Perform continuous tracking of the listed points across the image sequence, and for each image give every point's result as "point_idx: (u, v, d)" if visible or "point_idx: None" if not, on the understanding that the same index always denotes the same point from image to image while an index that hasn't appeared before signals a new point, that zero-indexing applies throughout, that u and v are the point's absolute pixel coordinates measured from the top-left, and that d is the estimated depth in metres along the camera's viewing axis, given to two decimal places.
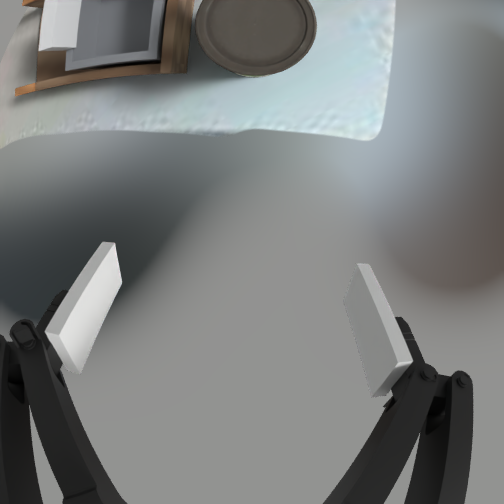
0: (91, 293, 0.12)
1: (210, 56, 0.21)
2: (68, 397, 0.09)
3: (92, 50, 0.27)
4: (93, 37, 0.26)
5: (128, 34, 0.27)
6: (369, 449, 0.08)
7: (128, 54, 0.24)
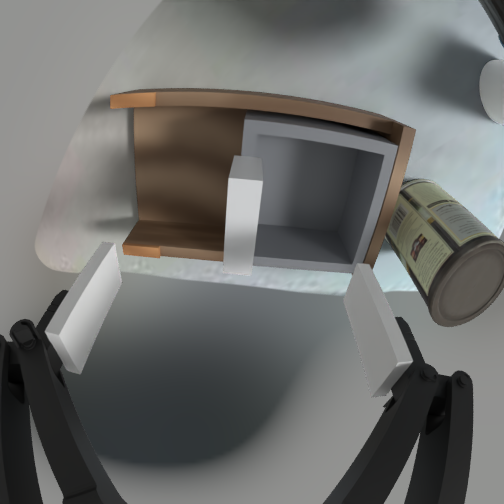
0: (91, 293, 0.12)
1: (433, 317, 0.23)
2: (68, 397, 0.09)
3: None
4: None
5: (297, 198, 0.29)
6: (369, 449, 0.08)
7: (328, 264, 0.26)
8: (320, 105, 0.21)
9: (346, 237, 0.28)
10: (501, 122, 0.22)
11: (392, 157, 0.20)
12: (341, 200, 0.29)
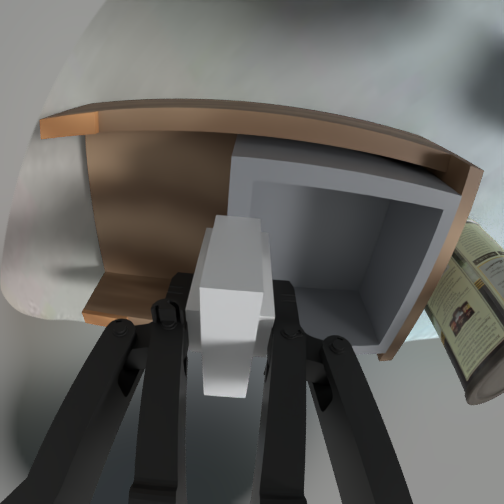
0: None
1: (469, 401, 0.15)
2: (185, 387, 0.10)
3: None
4: None
5: (309, 252, 0.22)
6: (262, 427, 0.08)
7: None
8: (353, 128, 0.13)
9: (371, 304, 0.21)
10: None
11: (452, 212, 0.13)
12: (366, 253, 0.22)
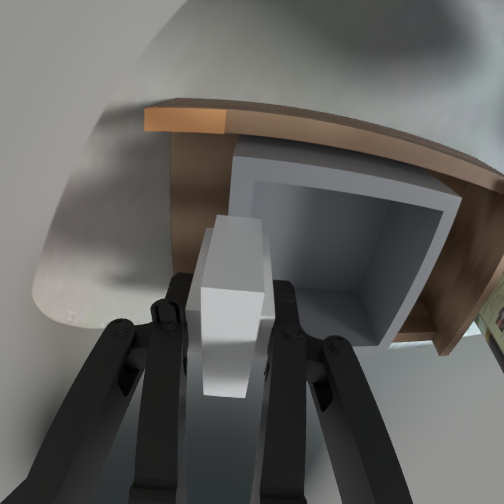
0: None
1: None
2: (185, 387, 0.10)
3: None
4: None
5: (308, 253, 0.22)
6: (263, 427, 0.08)
7: None
8: (453, 158, 0.14)
9: (371, 305, 0.21)
10: None
11: (453, 214, 0.13)
12: (366, 254, 0.22)
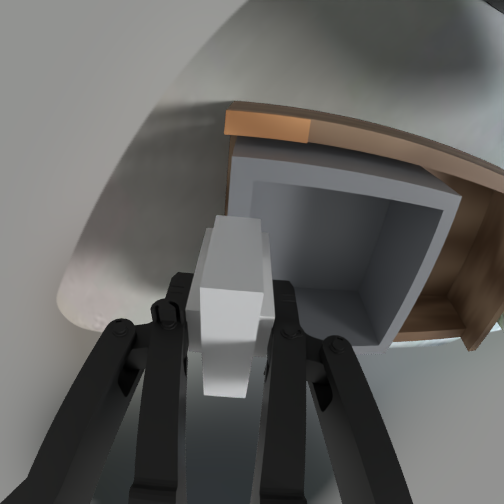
0: None
1: None
2: (185, 387, 0.10)
3: None
4: None
5: (309, 252, 0.22)
6: (262, 427, 0.08)
7: None
8: (492, 172, 0.14)
9: (371, 304, 0.21)
10: None
11: (452, 213, 0.13)
12: (366, 253, 0.22)
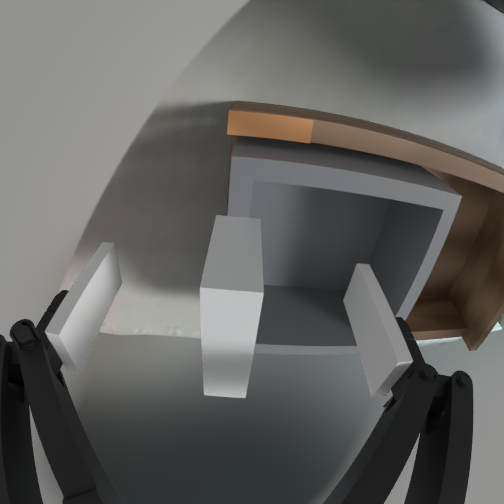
0: (91, 293, 0.12)
1: None
2: (68, 397, 0.09)
3: None
4: None
5: (309, 252, 0.22)
6: (369, 449, 0.08)
7: (348, 348, 0.19)
8: (493, 172, 0.14)
9: None
10: None
11: (452, 212, 0.13)
12: (366, 253, 0.22)
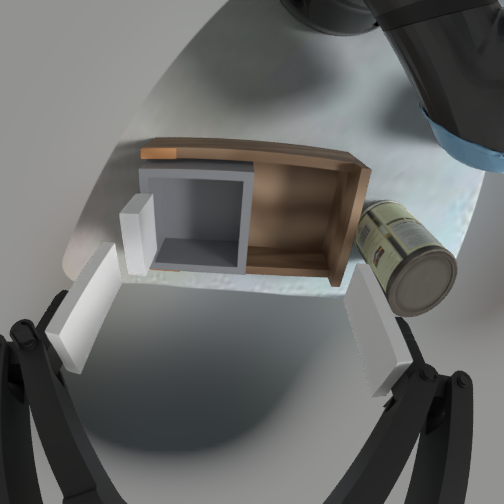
0: (91, 293, 0.12)
1: (391, 309, 0.32)
2: (68, 397, 0.09)
3: (163, 230, 0.38)
4: (161, 217, 0.37)
5: (200, 217, 0.38)
6: (369, 449, 0.08)
7: (217, 267, 0.35)
8: (299, 155, 0.30)
9: None
10: None
11: (251, 182, 0.29)
12: (235, 216, 0.38)
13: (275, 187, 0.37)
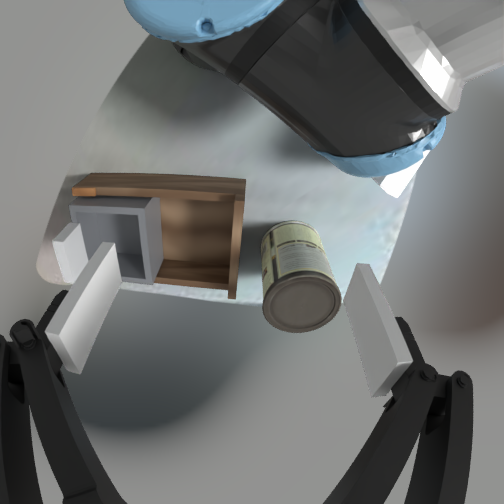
0: (91, 293, 0.12)
1: (271, 324, 0.39)
2: (68, 397, 0.09)
3: None
4: (97, 236, 0.43)
5: (125, 236, 0.45)
6: (369, 449, 0.08)
7: (131, 278, 0.42)
8: (184, 191, 0.37)
9: None
10: None
11: (143, 215, 0.36)
12: None
13: (182, 212, 0.44)
